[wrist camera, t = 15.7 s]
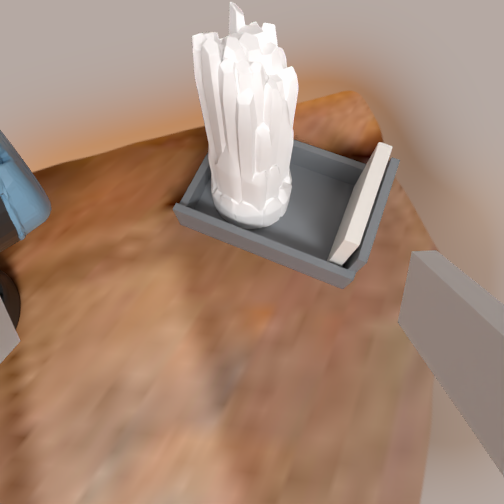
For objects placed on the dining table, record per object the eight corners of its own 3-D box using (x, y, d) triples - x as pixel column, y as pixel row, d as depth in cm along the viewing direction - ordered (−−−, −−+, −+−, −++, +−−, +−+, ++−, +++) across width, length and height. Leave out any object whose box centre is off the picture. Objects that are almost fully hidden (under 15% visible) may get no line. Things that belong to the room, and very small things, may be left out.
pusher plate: (324, 267, 43) (344, 239, 33) (353, 187, 46) (378, 141, 37) (340, 273, 42) (365, 247, 33) (368, 192, 46) (397, 148, 37)
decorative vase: (276, 156, 49) (297, -41, 25) (299, 218, 45) (347, 59, 22) (205, 173, 48) (158, -14, 24) (223, 238, 44) (188, 95, 21)
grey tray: (180, 224, 46) (164, 193, 38) (227, 138, 51) (222, 93, 42) (342, 289, 43) (364, 271, 34) (376, 190, 48) (402, 153, 39)
